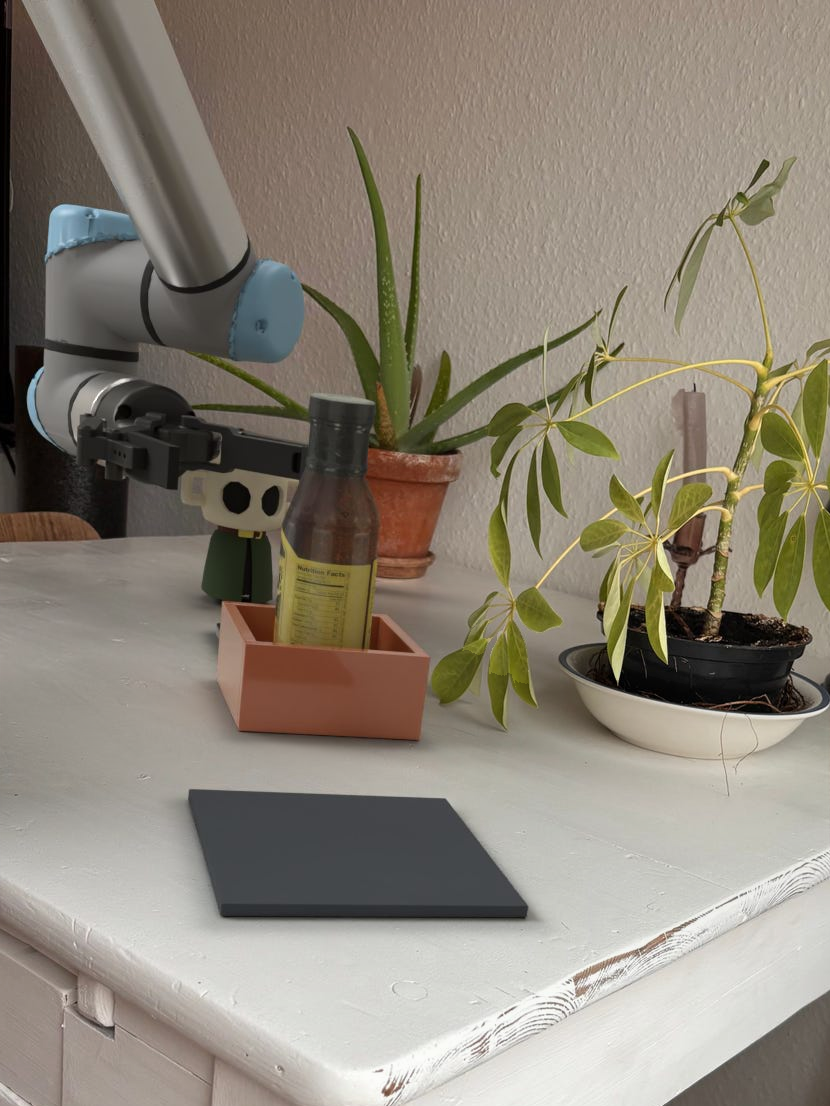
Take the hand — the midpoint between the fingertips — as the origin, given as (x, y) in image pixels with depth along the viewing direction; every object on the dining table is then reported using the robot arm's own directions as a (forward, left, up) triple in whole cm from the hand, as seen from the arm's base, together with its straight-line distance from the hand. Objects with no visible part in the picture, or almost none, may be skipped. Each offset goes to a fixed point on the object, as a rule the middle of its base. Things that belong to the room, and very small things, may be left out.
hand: (266, 474), depth 87 cm
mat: (0, -34, -14) cm, 36 cm away
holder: (+3, -9, -14) cm, 17 cm away
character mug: (+2, +23, -14) cm, 27 cm away
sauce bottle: (+3, -9, -14) cm, 17 cm away
